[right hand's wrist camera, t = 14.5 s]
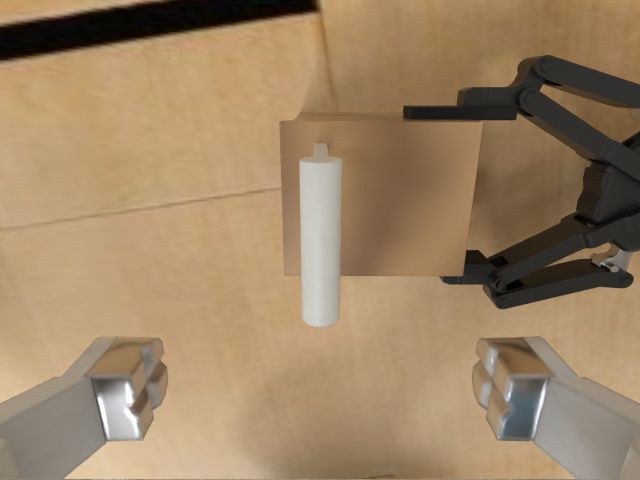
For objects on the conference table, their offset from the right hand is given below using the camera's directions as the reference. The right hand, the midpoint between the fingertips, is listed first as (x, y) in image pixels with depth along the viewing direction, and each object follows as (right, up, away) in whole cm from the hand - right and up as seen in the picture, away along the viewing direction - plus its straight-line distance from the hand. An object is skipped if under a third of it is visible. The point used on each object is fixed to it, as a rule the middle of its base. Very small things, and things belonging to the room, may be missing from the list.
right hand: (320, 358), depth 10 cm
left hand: (+6, +6, +18) cm, 20 cm away
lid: (+4, +6, +15) cm, 17 cm away
